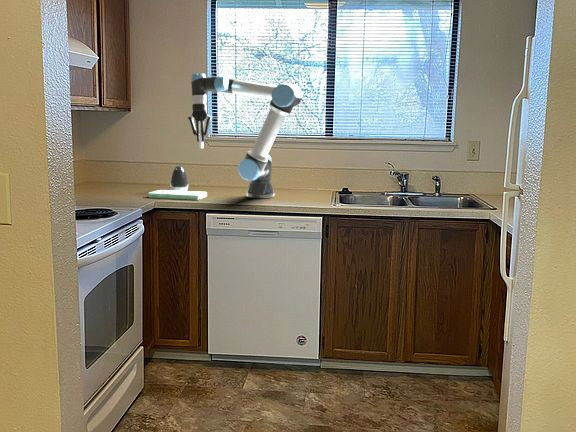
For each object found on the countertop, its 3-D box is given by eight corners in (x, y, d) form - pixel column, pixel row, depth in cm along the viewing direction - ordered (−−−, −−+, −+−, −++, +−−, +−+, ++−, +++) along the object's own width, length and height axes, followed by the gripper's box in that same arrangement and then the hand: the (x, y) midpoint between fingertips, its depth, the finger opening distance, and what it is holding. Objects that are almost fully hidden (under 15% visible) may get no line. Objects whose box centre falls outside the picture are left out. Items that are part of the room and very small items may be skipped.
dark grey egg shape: (167, 193, 334) (166, 166, 331) (175, 190, 344) (174, 164, 341) (184, 194, 331) (183, 167, 329) (191, 191, 341) (191, 165, 339)
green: (206, 196, 324) (206, 191, 324) (197, 200, 311) (197, 195, 310) (159, 194, 330) (159, 189, 329) (148, 197, 316) (148, 193, 316)
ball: (162, 192, 323) (165, 197, 323) (159, 192, 320) (163, 197, 320) (166, 188, 322) (170, 193, 322) (164, 189, 319) (168, 194, 319)
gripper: (213, 103, 317) (215, 147, 321) (190, 103, 319) (192, 147, 323) (209, 103, 310) (210, 148, 314) (185, 103, 312) (187, 148, 316)
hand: (201, 148), depth 318 cm, fingers closed
